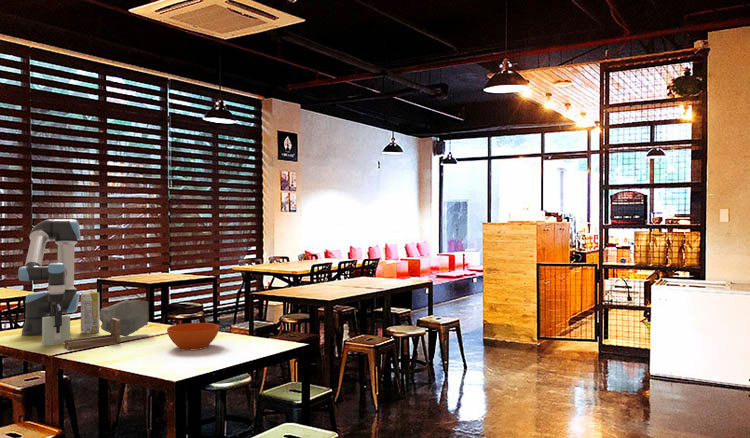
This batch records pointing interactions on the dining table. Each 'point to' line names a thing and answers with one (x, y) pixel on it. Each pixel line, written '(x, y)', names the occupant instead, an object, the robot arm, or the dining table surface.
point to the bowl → (193, 335)
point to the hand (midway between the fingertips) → (56, 338)
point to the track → (96, 338)
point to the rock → (126, 316)
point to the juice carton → (90, 312)
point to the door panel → (49, 330)
